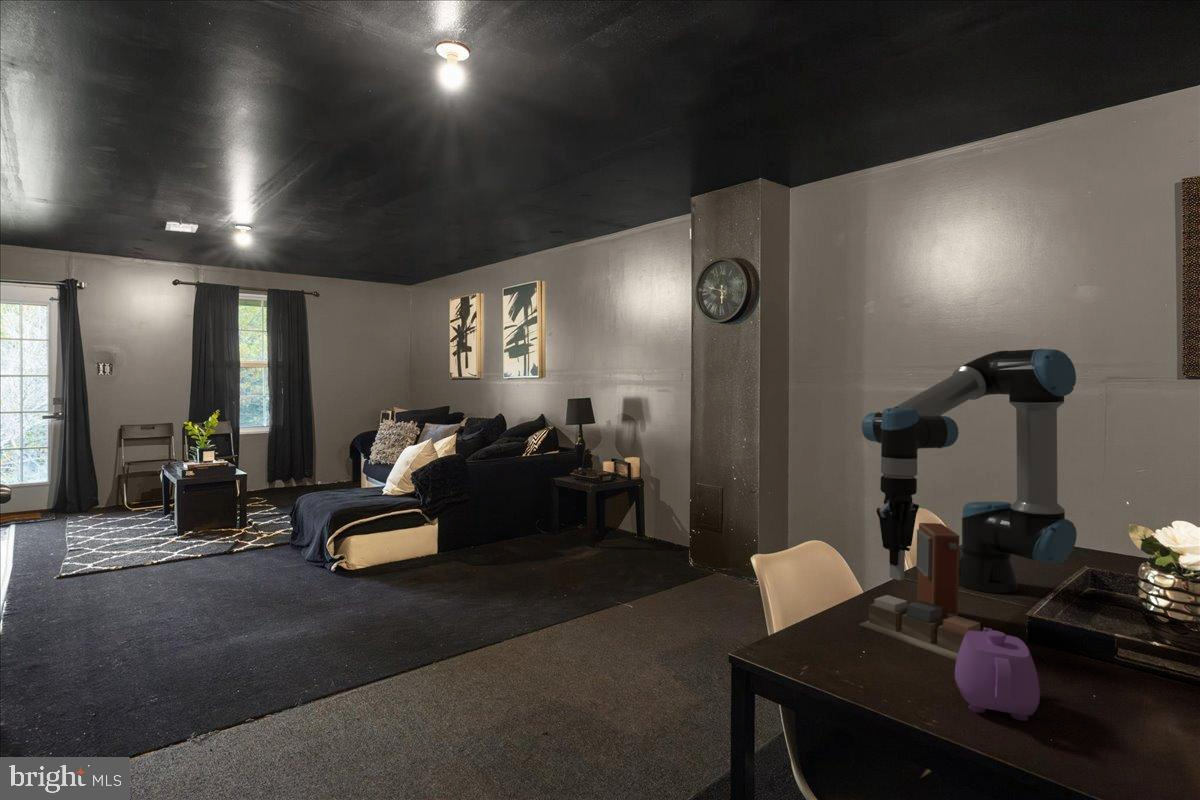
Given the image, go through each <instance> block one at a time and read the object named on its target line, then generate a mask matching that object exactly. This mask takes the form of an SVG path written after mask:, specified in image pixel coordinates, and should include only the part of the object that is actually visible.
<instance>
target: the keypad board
mask: <svg viewBox="0 0 1200 800" xmlns="http://www.w3.org/2000/svg"><path fill="white" fill-rule="evenodd" d="M945 619H947V618H944V617H942V619H941V620H938V621H936V622H933V623H930V624H929V623H926V622H923V621H920V620H917V619H914V618H911V617H908V616H907V609H904V610H901V611H898V612H892V611H889V610H886V609H883V608H880V607H877V606H874V603H871V604H868V620H867V621H864V622H860V623H859V624H858V625H859V627H862V628H865V629H868V630H870V629H871V631H873V630H874V631H873V632H877V633H879V634H881V633H882V634H881V635H885V636H887V637H890V638H893V639H895V640H898V641H901V642H904V643H907V644H910V645H912V646H915V647H918V648H922V649H924V650H926V651H929V652H933V653H934V654H936V655H937V654H938V655H941V656H943V657H946V658H948V659H951V660H955V661H956V660H957V656H958V652H959V649H960V646H961V644H962V641H963V638H964V636H965V635H963V634H960V633H957V632H954V631H951V630H948V629H945V628H943V620H945ZM980 631H981V632H984V628H983V629H982V628H980Z"/></svg>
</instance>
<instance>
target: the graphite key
mask: <svg viewBox="0 0 1200 800" xmlns="http://www.w3.org/2000/svg"><path fill="white" fill-rule="evenodd" d="M907 616H908V617H911V618H914V619H917V620H920V621H923V622H926V623H929V624H930V623H933V622H936V621H938V620H941V619H942V607H940V606H937V605H934V604H930V603H927V602H924V601H918V600H917V601H914V602H911V603H909V604H908V603H907Z"/></svg>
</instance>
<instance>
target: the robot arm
mask: <svg viewBox="0 0 1200 800" xmlns="http://www.w3.org/2000/svg"><path fill="white" fill-rule="evenodd" d="M1076 384H1077V374H1076V368H1075V365H1074V364H1073V361H1072V359H1071V358H1070V357H1069V356H1068V355H1067V354H1066V353H1065V352H1064V351H1062V350H1059V349H1054V348H1053V349H1052V348H1051V349H1050V348H1048V349H1047V348H1038V349H1020V350H1019V349H1018V350H1017V349H1016V350H999V351H995V352H990V353H987V354H984V355H983V356H980V357H977V358H975V359H972V360H971V361H968V362H967V363H965V364H963V365H961V366H959V367H957V368H956V369H954V370H953V373H952V375H951V376H949V377H946V378H945V379H944V380H942V381H940V382H937V383H936V384H934V385H932V386H931V387H929V388H927V389H925V390H923V391H921V392H920V393H918V394H916V395H914V396H912V397H910V398H909V399H907V400H905V401H903V402H901V403H900V404H898V405H895V406H894V407H887V408H885V409H883V411H882V412H879V411H877V412H871V413H868V414H866V415H865V416H864V417H863V420H862V421H861V432H862V436H864V438H865V439H866V440H868V441H870V442H875V443H878V444H881V447H880V451H881V453H880V456H881V457H880V458H881V459H880V473H881V474H882V475H881V476H880V492H882V493H884V500H883V506H882V507H877V508H876V514H877V517H878V520H879V526H880V527H879V528H880V535H881V540H882V541H881V542H882V547H883V548H884V549H885V550H888V551H889V560H888V561H889V563H888V564H889V578H890V579H894V580H896V581H903V580H905V564H906V551H907V552H910V551H911V548H910V547H912V545H913V538H914V531H915V526H916V520H917V519H916V518H917V513H918V511H919V509H920V505H919V504H917V503H914V502H913V496H914V495H916V494H917V492H918V479H917V478H916V476H917V475H918V450H919V449H939V450H940V449H943V448H948V447H952V446H953V445H954V444H955V443H956V442H957V440H958V438H959V433H960V432H959V427H958V424H957V422H956V421H955V420H954V419H952V418H951V417H950V416H946V415H944V414H946V413H948V412H950V411H952V410H953V409H955V408H958V406H960V405H962V404H964V403H965V402H968V401H969V400H971V401H973V400H974V401H975V400H979V399H980V398H982V397H984V396H989V395H990V396H991V395H1008V396H1009V397H1008V402H1009V404H1010V405H1012V407H1014V408H1015V412H1016V417H1015V418H1016V419H1015V420H1016V422H1015V423H1016V428H1015V429H1016V500H1015V501H1014V502H1013V503H1011V502H1007V501H973V502H967V503H965V504H964V506H963V507H962V516H961V555H960V566H959V581H958V586H961V587H964V588H966V589H969V590H970V589H971V590H975V591H980V592H986V593H994V594H1008V593H1009V594H1010V593H1014V592H1016V591H1018V585H1019V583H1018V581H1019V580H1018V578H1017V575H1016V571H1015V570H1014V567H1013V564H1012V561H1011V559H1012V558H1011V557H1012V556H1013V555H1014V556H1016V557H1017V556H1018V557H1022V558H1026V559H1029V560H1032V561H1033V560H1034V561H1035V562H1038V563H1046V564H1052V565H1053V564H1054V565H1055V564H1059V563H1062V562H1064V561H1065V560H1066V559H1067V558H1068V557H1069V556H1070V555H1071V553H1072V552H1073V550H1074V547H1076V546H1075V545H1076V542H1077V541H1076V540H1077V536H1078V534H1077V533H1078V532H1077V527H1076V526H1075V524H1074V523H1073V522H1072V521H1071V520H1069V519H1066V514H1065V513H1066V512H1065V508H1064V507H1062V506H1061V505H1060V504H1059V503H1058V409H1059V407H1060V406H1061V405H1063V404H1065V397H1066V396H1068V395H1070V394H1071V393H1072V392H1073V391H1074V387H1075V385H1076ZM1011 555H1012V556H1011Z"/></svg>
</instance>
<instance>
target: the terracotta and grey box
mask: <svg viewBox="0 0 1200 800" xmlns="http://www.w3.org/2000/svg"><path fill="white" fill-rule="evenodd" d="M960 554H961V552H960V535H959V534H958V533H957V532H955V531H953V530H952V529H950V528H949V527H947V526H946V525H945V524H942V523H934V522H933V523H932V522H919V523H918V529H917V530H916V558H915V559H916V561H915V562H916V565H915V568H917V601H924V602H927V603H930V604H934V605H937V606H940V607H942V617H944V618H947V619H948V618H951V617H953V616H959V584H958V581H959V566H960V557H961V555H960Z"/></svg>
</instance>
